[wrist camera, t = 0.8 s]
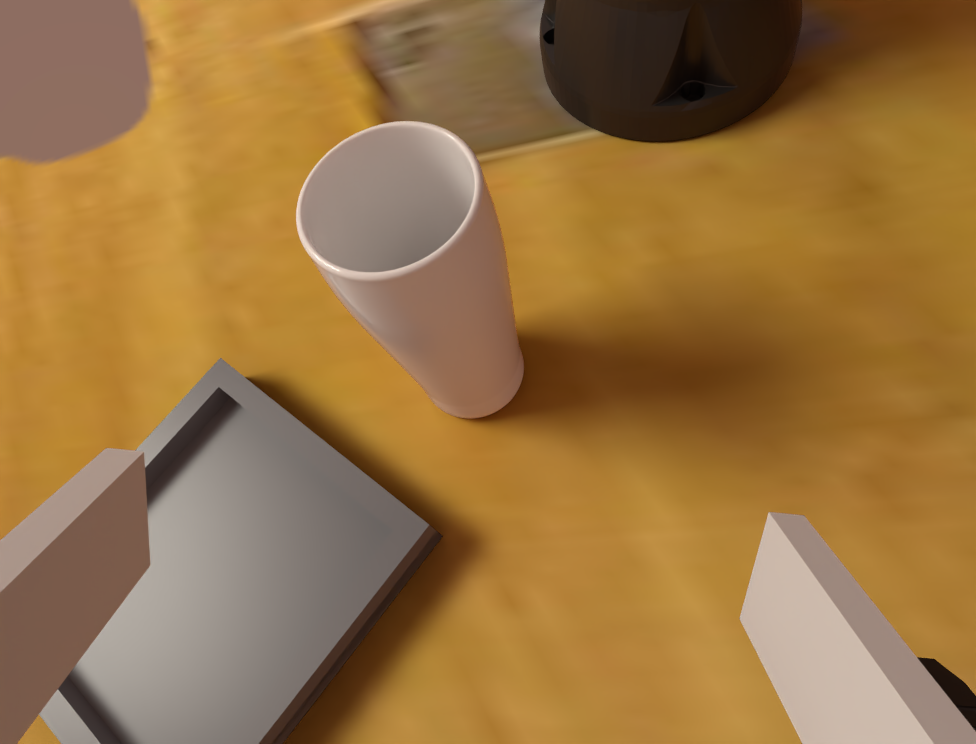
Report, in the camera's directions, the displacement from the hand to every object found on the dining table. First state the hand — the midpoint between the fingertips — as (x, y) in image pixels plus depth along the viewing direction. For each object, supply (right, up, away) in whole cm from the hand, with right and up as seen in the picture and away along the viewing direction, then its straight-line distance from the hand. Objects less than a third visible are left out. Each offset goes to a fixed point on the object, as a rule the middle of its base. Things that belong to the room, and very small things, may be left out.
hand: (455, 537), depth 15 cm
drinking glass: (0, +3, +23) cm, 23 cm away
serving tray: (-12, -7, +20) cm, 25 cm away
